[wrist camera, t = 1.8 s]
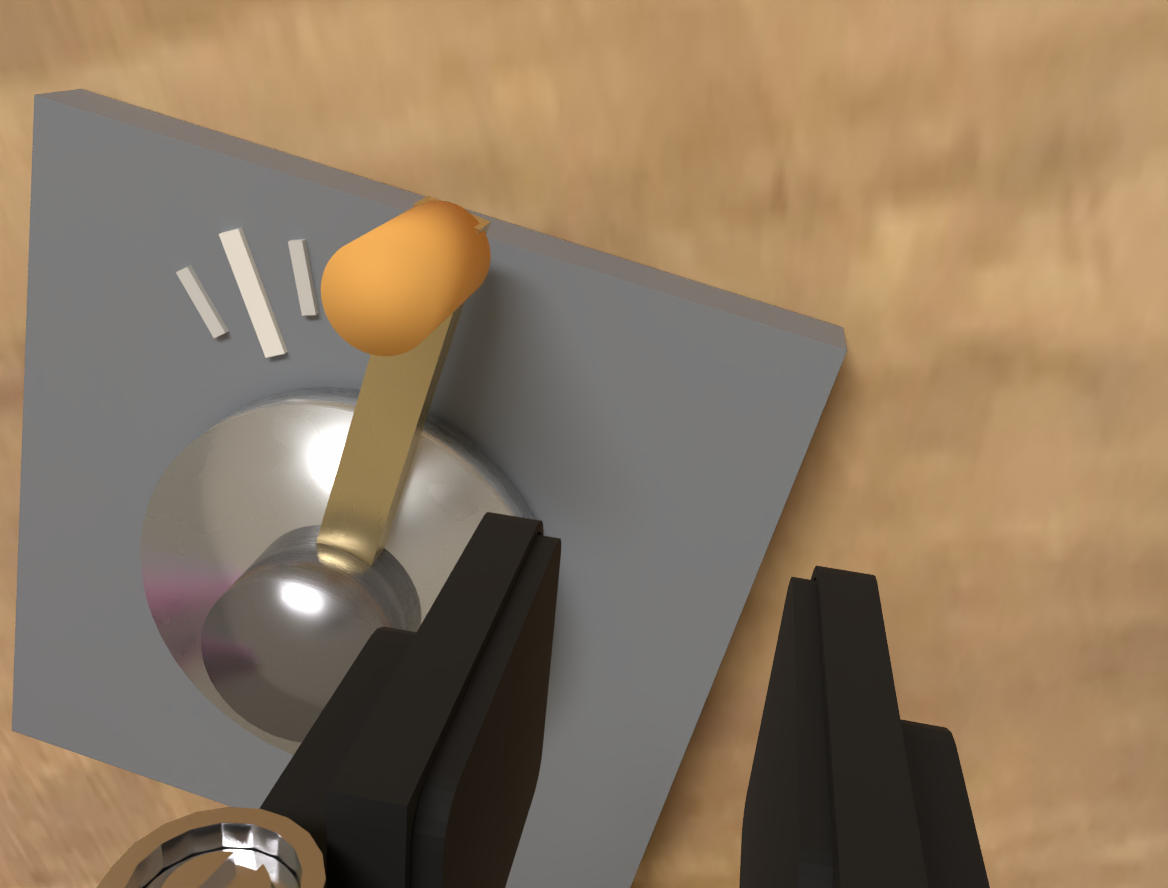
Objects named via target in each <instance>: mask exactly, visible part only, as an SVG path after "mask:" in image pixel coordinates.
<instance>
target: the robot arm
mask: <svg viewBox="0 0 1168 888" xmlns="http://www.w3.org/2000/svg"><path fill="white" fill-rule="evenodd" d="M543 535H544V530H543V522H542V521H541V520H535V519H529V518H523V517H517V516H511V515H504V514H498V513H492V512H486V514H485V515H484V516H483V518H482V520H481V521H480V523H479V525H478V526H477V528H476V530H475V532H474V533H473V535H472V537H471V539H470V540H469V542H468V544H467V546H466V547H465V549H464V551H463V553H462V554H461V556H460V558H459V559H458V561H457V563H456V565H455V566H454V568H453V570H452V572H451V573H450V575H449V577H448V579H447V580H446V582H445V584H444V586H443V587H442V589H441V591H440V592H439V594H438V596H437V598H436V599H435V601H434V603H433V605H432V606H431V608H430V610H429V612H428V613H427V615H426V617H425V618H424V620H423V622H422V624H421V625H420V627H419V629H418V631H417V632H412V631H407V630H401V629H396V628H390V627H384V626H383V627H380V628H377V629H376V631H375V632H374V633H373V634H372V635H371V636H370V638H369V639H368V641H367V642H366V644H365V645H364V647H363V649H362V650H361V652H360V653H359V655H358V656H357V658H356V659H355V661H354V662H353V664H352V666H351V667H350V669H349V670H348V672H347V673H346V675H345V676H344V678H343V680H342V681H341V683H340V684H339V686H338V687H337V689H336V690H335V692H334V693H333V695H332V697H331V698H330V700H329V701H328V703H327V704H326V706H325V707H324V709H323V710H322V712H321V714H320V715H319V717H318V718H317V720H316V721H315V723H314V724H313V726H312V728H311V729H310V731H309V732H308V734H307V735H306V737H305V738H304V740H303V741H302V743H301V745H300V746H299V748H298V749H297V751H296V752H295V754H294V755H293V757H292V759H291V760H290V762H289V763H288V765H287V766H286V768H285V769H284V771H283V772H282V774H281V776H280V777H279V779H278V780H277V782H276V783H275V785H274V786H273V788H272V790H271V791H270V793H269V794H268V796H267V797H266V799H265V800H264V802H263V803H262V805H261V807H260V808H259V809H256V808H239V807H226V808H219V809H213V810H207V811H200V812H195V813H193V814H190V815H187V816H185V817H182V818H179V819H177V820H174V821H171V822H169V823H166V824H164V825H162V826H161V827H159V828H157V829H156V830H154V831H153V832H151V833H150V834H148V835H146V836H145V837H143V838H142V839H140V840H139V841H137V842H135V843H134V844H133V845H132V846H131V847H130V848H129V850H128V851H127V852H126V853H125V854H124V855H123V856H122V857H121V858H120V859H119V860H118V861H117V862H116V863H115V864H114V865H113V866H112V867H111V869H110V870H109V871H108V873H107V874H106V876H105V877H104V878H103V880H102V881H101V882H100V884H99V885H98V887H97V888H505V887H506V884H507V880H508V877H509V874H510V871H511V867H512V864H513V861H514V858H515V855H516V851H517V848H518V845H519V842H520V838H521V835H522V832H523V829H524V825H525V822H526V819H527V816H528V813H529V809H530V806H531V803H532V800H533V796H534V793H535V789H536V786H537V781H538V777H539V771H540V766H541V759H542V751H543V740H544V729H545V719H546V708H547V697H548V687H549V676H550V665H551V655H552V644H553V634H554V623H555V612H556V602H557V591H558V580H559V570H560V559H561V538H555V537H549V536H543ZM740 888H990V887H989V882H988V878H987V874H986V870H985V866H984V861H983V857H982V853H981V849H980V844H979V840H978V836H977V832H976V828H975V823H974V819H973V815H972V811H971V807H970V802H969V798H968V794H967V790H966V786H965V781H964V777H963V773H962V769H961V765H960V760H959V756H958V752H957V748H956V744H955V741H954V738H953V736H952V733H951V732H950V731H949V730H948V729H947V728H945V727H939V726H934V725H928V724H923V723H917V722H911V721H906V720H900V715H899V709H898V703H897V698H896V692H895V686H894V680H893V674H892V668H891V662H890V656H889V650H888V644H887V638H886V632H885V626H884V621H883V615H882V609H881V603H880V597H879V591H878V585H877V580H876V577H875V576H874V575H870V574H864V573H858V572H852V571H845V570H839V569H833V568H827V567H821V566H816V567H815V569H814V571H813V574H812V577H811V580H808V579H802V578H796V577H791V579H790V583H789V586H788V591H787V596H786V601H785V606H784V611H783V616H782V621H781V626H780V631H779V636H778V641H777V646H776V651H775V656H774V661H773V666H772V671H771V676H770V681H769V686H768V691H767V696H766V701H765V706H764V711H763V716H762V721H761V726H760V731H759V736H758V741H757V746H756V751H755V756H754V761H753V766H752V771H751V776H750V781H749V786H748V791H747V796H746V802H745V809H744V817H743V827H742V844H741V866H740Z"/></svg>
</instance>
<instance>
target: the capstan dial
mask: <svg viewBox="0 0 1168 888" xmlns="http://www.w3.org/2000/svg"><path fill="white" fill-rule="evenodd" d="M490 222H491V221H488V220H486V219H483V218H481V217H479V216H476V215H474V214H471V213H469V212H468V211H467V210H465V209H464V208H462V207H460V206H458V205H456V204H453V203H450V202H445V201H440V200H437V199H435V198H432V197H430V196H427V197H425V198H423V199H421V200H419V201H418V202H416V203H414V207H413V208H411V209H409V210H407V211H406V212H404V213H402V214H400V215H398V216H397V217H395V218H393V219H391V220H390V221H388V222H386V223H384V224H382V225H381V226H379V227H377V228H375V229H373V230H372V231H370V232H368V233H366V234H364V235H363V236H361V237H359V238H357V239H355V240H354V241H352V242H350V243H348V244H347V245H345V246H343V247H342V248H340V249H339V250H338V251H337V252H336V253H335V254H334V255H333V256H332V257H331V259H330V260H329V262H328V263H327V265H326V267H325V270H324V273H323V276H322V281H321V299H322V304H323V308H324V311H325V314H326V316H327V318H328V320H329V322H330V323H331V325H332V327H333V328H334V329H335V331H336V332H337V333H338V334H339V335H340V336H341V337H342V338H343V339H344V340H345V341H346V342H347V343H349V344H350V345H352V346H353V347H355V348H356V349H358V350H360V351H363V352H365V353H368V354H371V355H370V358H369V362H368V365H367V369H366V372H365V376H364V379H363V382H362V386H361V389H360V390H358V389H349V388H338V387H313V388H300V389H294V390H289V391H284V392H278V393H275V394H272V395H269V396H266V397H263V398H260V399H257V400H254V401H252V402H250V403H249V404H247V405H245V406H243V407H241V408H239V409H237V410H235V411H233V412H232V413H230V414H229V415H228V416H226V417H225V418H224V419H222V420H221V421H220V422H218V423H217V424H216V425H214V426H213V427H212V428H210V429H209V430H207V431H206V432H205V433H203V434H202V435H201V436H199V437H198V438H197V439H195V440H194V441H193V442H191V443H190V444H189V445H188V446H187V447H186V448H185V449H184V450H183V451H182V452H181V453H180V454H179V455H178V456H177V457H176V458H175V459H174V460H173V461H172V462H171V463H170V465H169V466H168V468H167V469H166V471H165V472H164V474H163V475H162V477H161V478H160V479H159V481H158V483H157V485H156V487H155V490H154V492H153V494H152V496H151V498H150V500H149V503H148V507H147V510H146V514H145V517H144V521H143V527H142V535H141V543H140V556H141V573H142V579H143V585H144V591H145V594H146V598H147V601H148V604H149V608H150V611H151V614H152V617H153V619H154V621H155V624H156V626H157V628H158V630H159V633H160V635H161V637H162V639H163V641H164V642H165V644H166V646H167V648H168V649H169V651H170V653H171V654H172V656H173V658H174V659H175V661H176V662H177V663H178V665H179V666H180V667H181V669H182V670H183V672H184V673H185V674H186V676H187V677H188V678H189V679H190V681H191V682H192V683H193V684H194V685H195V686H196V687H197V688H198V689H199V690H200V692H201V693H202V694H203V695H204V696H205V697H206V698H207V699H208V700H209V701H210V702H211V703H213V704H214V705H215V706H216V707H217V708H218V709H219V710H220V711H221V712H222V713H224V714H225V715H226V716H227V717H229V718H230V719H231V720H233V721H234V722H236V723H237V724H238V725H240V726H241V727H242V728H244V729H245V730H247V731H248V732H250V733H252V734H253V735H255V736H257V737H258V738H260V739H262V740H263V741H265V742H267V743H268V744H271V745H273V746H275V747H277V748H279V749H281V750H283V751H285V752H287V753H289V754H292V755H294V754H295V752H296V751H297V749H298V748H299V746H300V745H301V743H302V741H303V740H304V738H305V737H306V735H307V734H308V732H309V731H310V729H311V728H312V726H313V724H314V723H315V721H316V720H317V718H318V717H319V715H320V714H321V712H322V710H323V709H324V707H325V706H326V704H327V703H328V701H329V700H330V698H331V697H332V695H333V693H334V692H335V690H336V689H337V687H338V686H339V684H340V683H341V681H342V680H343V678H344V676H345V675H346V673H347V672H348V670H349V669H350V667H351V666H352V664H353V662H354V661H355V659H356V658H357V656H358V655H359V653H360V652H361V650H362V649H363V647H364V645H365V644H366V642H367V641H368V639H369V638H370V636H371V635H372V634H373V633H374V632H375V631H376V629H377V628H380V627H383V626H384V627H390V628H396V629H401V630H407V631H412V632H417V631H418V629H419V627H420V625H421V624H422V622H423V620H424V618H425V617H426V615H427V613H428V612H429V610H430V608H431V606H432V605H433V603H434V601H435V599H436V598H437V596H438V594H439V592H440V591H441V589H442V587H443V586H444V584H445V582H446V580H447V579H448V577H449V575H450V573H451V572H452V570H453V568H454V566H455V565H456V563H457V561H458V559H459V558H460V556H461V554H462V553H463V551H464V549H465V547H466V546H467V544H468V542H469V540H470V539H471V537H472V535H473V533H474V532H475V530H476V528H477V526H478V525H479V523H480V521H481V520H482V518H483V516H484V515H485V514H486V512H492V513H498V514H504V515H511V516H517V517H523V518H529V519H535V517H534V515H533V514H532V512H531V510H530V509H529V507H528V505H527V503H526V502H525V500H524V498H523V497H522V495H521V493H520V492H519V490H518V489H517V488H516V487H515V485H514V484H513V483H512V481H511V480H510V479H509V477H508V476H507V475H506V474H505V472H504V471H503V470H502V469H501V468H500V467H499V466H498V465H497V464H496V463H495V462H494V461H493V460H492V459H491V458H490V457H489V456H488V454H487V453H486V452H485V451H484V450H482V449H481V448H480V447H479V446H477V445H476V444H475V443H474V442H473V441H471V440H470V439H469V438H468V437H466V436H465V435H464V434H463V433H461V432H460V431H458V430H457V429H455V428H454V427H452V426H450V425H449V424H447V423H446V422H444V421H443V420H441V419H439V418H438V417H436V416H434V415H432V414H430V413H429V410H430V407H431V403H432V400H433V397H434V394H435V391H436V388H437V385H438V382H439V379H440V376H441V373H442V370H443V367H444V364H445V361H446V357H447V354H448V351H449V348H450V345H451V342H452V339H453V336H454V333H455V330H456V327H457V324H458V321H459V318H460V314H461V311H462V308H463V305H464V302H465V300H467V299H468V298H469V297H470V296H471V295H472V294H473V293H474V292H475V291H476V290H477V289H478V288H479V287H480V286H481V284H482V283H483V282H484V280H485V278H486V276H487V273H488V271H489V267H490V260H491V252H490V245H489V241H488V238H487V236H486V235H487V232H488V229H489V225H490Z"/></svg>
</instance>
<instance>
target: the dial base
mask: <svg viewBox="0 0 1168 888" xmlns="http://www.w3.org/2000/svg"><path fill="white" fill-rule="evenodd" d="M423 198H425V196H422V195H418V194H415V193H412V192H409V191H406V190H402V189H399V188H396V187H393V186H390V185H386V184H383V183H380V182H377V181H374V180H370V179H367V178H364V177H361V176H358V175H355V174H351V173H348V172H345V171H342V170H339V169H335V168H332V167H329V166H326V165H323V164H319V163H316V162H313V161H310V160H307V159H303V158H300V157H297V156H294V155H291V154H287V153H284V152H281V151H278V150H275V149H272V148H268V147H265V146H262V145H259V144H256V143H252V142H249V141H246V140H243V139H240V138H236V137H233V136H230V135H227V134H224V133H220V132H217V131H214V130H211V129H208V128H204V127H201V126H198V125H195V124H192V123H189V122H185V121H182V120H179V119H176V118H173V117H169V116H166V115H163V114H160V113H157V112H153V111H150V110H147V109H144V108H141V107H137V106H134V105H131V104H128V103H125V102H121V101H118V100H115V99H112V98H109V97H106V96H102V95H99V94H96V93H93V92H90V91H86V90H83V89H77V90H69V91H61V92H53V93H45V94H37V95H34V123H33V151H32V179H31V207H30V235H29V263H28V291H27V319H26V347H25V375H24V403H23V431H22V459H21V487H20V515H19V543H18V571H17V599H16V627H15V655H14V684H13V712H12V731H15V732H18V733H21V734H23V735H26V736H29V737H32V738H35V739H38V740H41V741H44V742H46V743H49V744H52V745H55V746H58V747H61V748H64V749H67V750H70V751H72V752H75V753H78V754H81V755H84V756H87V757H90V758H93V759H95V760H98V761H101V762H104V763H107V764H110V765H113V766H116V767H119V768H121V769H124V770H127V771H130V772H133V773H136V774H139V775H142V776H144V777H147V778H150V779H153V780H156V781H159V782H162V783H165V784H168V785H170V786H173V787H176V788H179V789H182V790H185V791H188V792H191V793H193V794H196V795H199V796H202V797H205V798H208V799H211V800H214V801H217V802H219V803H222V804H225V805H228V806H231V807H239V808H256V809H259V808H260V807H261V805H262V803H263V802H264V800H265V799H266V797H267V796H268V794H269V793H270V791H271V790H272V788H273V786H274V785H275V783H276V782H277V780H278V779H279V777H280V776H281V774H282V772H283V771H284V769H285V768H286V766H287V765H288V763H289V762H290V760H291V759H292V757H293V755H292V754H289V753H287V752H285V751H283V750H281V749H279V748H277V747H275V746H273V745H271V744H268V743H267V742H265V741H263V740H262V739H260V738H258V737H257V736H255V735H253V734H252V733H250V732H248V731H247V730H245V729H244V728H242V727H241V726H240V725H238V724H237V723H236V722H234V721H233V720H231V719H230V718H229V717H227V716H226V715H225V714H224V713H222V712H221V711H220V710H219V709H218V708H217V707H216V706H215V705H214V704H213V703H211V702H210V701H209V700H208V699H207V698H206V697H205V696H204V695H203V694H202V693H201V692H200V690H199V689H198V688H197V687H196V686H195V685H194V684H193V683H192V682H191V681H190V679H189V678H188V677H187V676H186V674H185V673H184V672H183V670H182V669H181V667H180V666H179V665H178V663H177V662H176V661H175V659H174V658H173V656H172V654H171V653H170V651H169V649H168V648H167V646H166V644H165V642H164V641H163V639H162V637H161V635H160V633H159V630H158V628H157V626H156V624H155V621H154V619H153V617H152V614H151V611H150V608H149V604H148V601H147V598H146V594H145V591H144V585H143V579H142V573H141V556H140V543H141V535H142V527H143V521H144V517H145V514H146V510H147V507H148V503H149V500H150V498H151V496H152V494H153V492H154V490H155V487H156V485H157V483H158V481H159V479H160V478H161V477H162V475H163V474H164V472H165V471H166V469H167V468H168V466H169V465H170V463H171V462H172V461H173V460H174V459H175V458H176V457H177V456H178V455H179V454H180V453H181V452H182V451H183V450H184V449H185V448H186V447H187V446H188V445H189V444H190V443H191V442H193V441H194V440H195V439H197V438H198V437H199V436H201V435H202V434H203V433H205V432H206V431H207V430H209V429H210V428H212V427H213V426H214V425H216V424H217V423H218V422H220V421H221V420H222V419H224V418H225V417H226V416H228V415H229V414H230V413H232V412H233V411H235V410H237V409H239V408H241V407H243V406H245V405H247V404H249V403H250V402H252V401H254V400H257V399H260V398H263V397H266V396H269V395H272V394H275V393H278V392H284V391H289V390H294V389H300V388H313V387H338V388H349V389H358V390H360V389H361V386H362V382H363V379H364V376H365V372H366V369H367V365H368V362H369V358H370V355H371V354H368V353H365V352H363V351H360V350H358V349H356V348H355V347H353V346H352V345H350V344H349V343H347V342H346V341H345V340H344V339H343V338H342V337H341V336H340V335H339V334H338V333H337V332H336V331H335V329H334V328H333V327H332V325H331V323H330V322H329V320H328V318H327V316H326V314H325V311H324V308H323V304H322V299H321V281H322V276H323V273H324V270H325V267H326V265H327V263H328V262H329V260H330V259H331V257H332V256H333V255H334V254H335V253H336V252H337V251H338V250H339V249H340V248H342V247H343V246H345V245H347V244H348V243H350V242H352V241H354V240H355V239H357V238H359V237H361V236H363V235H364V234H366V233H368V232H370V231H372V230H373V229H375V228H377V227H379V226H381V225H382V224H384V223H386V222H388V221H390V220H391V219H393V218H395V217H397V216H398V215H400V214H402V213H404V212H406V211H407V210H409V209H411V208H413V207H414V203H416V202H418V201H419V200H421V199H423ZM465 210H466V209H465ZM467 211H468V212H469V213H471V214H474V215H476V216H479V217H481V218H483V219H486V220H488V221H491V222H490V225H489V229H488V232H487V235H486V236H487V238H488V241H489V245H490V252H491V260H490V267H489V271H488V273H487V276H486V278H485V280H484V282H483V283H482V284H481V286H480V287H479V288H478V289H477V290H476V291H475V292H474V293H473V294H472V295H471V296H470V297H469V298H468V299H467V300H465V302H464V305H463V308H462V311H461V314H460V318H459V321H458V324H457V327H456V330H455V333H454V336H453V339H452V342H451V345H450V348H449V351H448V354H447V357H446V361H445V364H444V367H443V370H442V373H441V376H440V379H439V382H438V385H437V388H436V391H435V394H434V397H433V400H432V403H431V407H430V410H429V413H430V414H432V415H434V416H436V417H438V418H439V419H441V420H443V421H444V422H446V423H447V424H449V425H450V426H452V427H454V428H455V429H457V430H458V431H460V432H461V433H463V434H464V435H465V436H466V437H468V438H469V439H470V440H471V441H473V442H474V443H475V444H476V445H477V446H479V447H480V448H481V449H482V450H484V451H485V452H486V453H487V454H488V456H489V457H490V458H491V459H492V460H493V461H494V462H495V463H496V464H497V465H498V466H499V467H500V468H501V469H502V470H503V471H504V472H505V474H506V475H507V476H508V477H509V479H510V480H511V481H512V483H513V484H514V485H515V487H516V488H517V489H518V490H519V492H520V493H521V495H522V497H523V498H524V500H525V502H526V503H527V505H528V507H529V509H530V510H531V512H532V514H533V515H534V517H535V520H541V521H542V522H543V530H544V535H543V536H549V537H555V538H561V559H560V570H559V580H558V591H557V602H556V612H555V623H554V634H553V644H552V655H551V665H550V676H549V687H548V697H547V708H546V719H545V729H544V740H543V751H542V759H541V766H540V771H539V777H538V781H537V786H536V789H535V793H534V796H533V800H532V803H531V806H530V809H529V813H528V816H527V819H526V822H525V825H524V829H523V832H522V835H521V838H520V842H519V845H518V848H517V851H516V855H515V858H514V861H513V864H512V867H511V871H510V874H509V877H508V880H507V884H506V887H505V888H630V887H631V885H632V882H633V880H634V877H635V875H636V872H637V870H638V867H639V865H640V862H641V860H642V857H643V855H644V852H645V850H646V847H647V845H648V842H649V840H650V837H651V835H652V833H653V830H654V828H655V825H656V823H657V820H658V818H659V815H660V813H661V810H662V808H663V805H664V803H665V800H666V798H667V795H668V793H669V790H670V788H671V785H672V783H673V781H674V778H675V776H676V773H677V771H678V768H679V766H680V763H681V761H682V758H683V756H684V753H685V751H686V748H687V746H688V743H689V741H690V738H691V736H692V733H693V731H694V729H695V726H696V724H697V721H698V719H699V716H700V714H701V711H702V709H703V706H704V704H705V701H706V699H707V696H708V694H709V691H710V689H711V686H712V684H713V681H714V679H715V676H716V674H717V672H718V669H719V667H720V664H721V662H722V659H723V657H724V654H725V652H726V649H727V647H728V644H729V642H730V639H731V637H732V634H733V632H734V629H735V627H736V624H737V622H738V620H739V617H740V615H741V612H742V610H743V607H744V605H745V602H746V600H747V597H748V595H749V592H750V590H751V587H752V585H753V582H754V580H755V577H756V575H757V572H758V570H759V567H760V565H761V563H762V560H763V558H764V555H765V553H766V550H767V548H768V545H769V543H770V540H771V538H772V535H773V533H774V530H775V528H776V525H777V523H778V520H779V518H780V515H781V513H782V511H783V508H784V506H785V503H786V501H787V498H788V496H789V493H790V491H791V488H792V486H793V483H794V481H795V478H796V476H797V473H798V471H799V468H800V466H801V463H802V461H803V459H804V456H805V454H806V451H807V449H808V446H809V444H810V441H811V439H812V436H813V434H814V431H815V429H816V426H817V424H818V421H819V419H820V416H821V414H822V411H823V409H824V406H825V404H826V402H827V399H828V397H829V394H830V392H831V389H832V387H833V384H834V382H835V379H836V377H837V374H838V372H839V369H840V367H841V364H842V362H843V359H844V357H845V354H846V352H847V346H846V341H845V336H844V331H843V327H840V326H837V325H833V324H830V323H827V322H824V321H821V320H817V319H814V318H811V317H808V316H805V315H801V314H798V313H795V312H792V311H789V310H786V309H782V308H779V307H776V306H773V305H770V304H766V303H763V302H760V301H757V300H754V299H750V298H747V297H744V296H741V295H738V294H734V293H731V292H728V291H725V290H722V289H718V288H715V287H712V286H709V285H706V284H703V283H699V282H696V281H693V280H690V279H687V278H683V277H680V276H677V275H674V274H671V273H667V272H664V271H661V270H658V269H655V268H651V267H648V266H645V265H642V264H639V263H635V262H632V261H629V260H626V259H623V258H620V257H616V256H613V255H610V254H607V253H604V252H600V251H597V250H594V249H591V248H588V247H584V246H581V245H578V244H575V243H572V242H568V241H565V240H562V239H559V238H556V237H552V236H549V235H546V234H543V233H540V232H536V231H533V230H530V229H527V228H524V227H521V226H517V225H514V224H511V223H508V222H505V221H501V220H498V219H495V218H492V217H489V216H485V215H482V214H479V213H476V212H473V211H469V210H467Z"/></svg>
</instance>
